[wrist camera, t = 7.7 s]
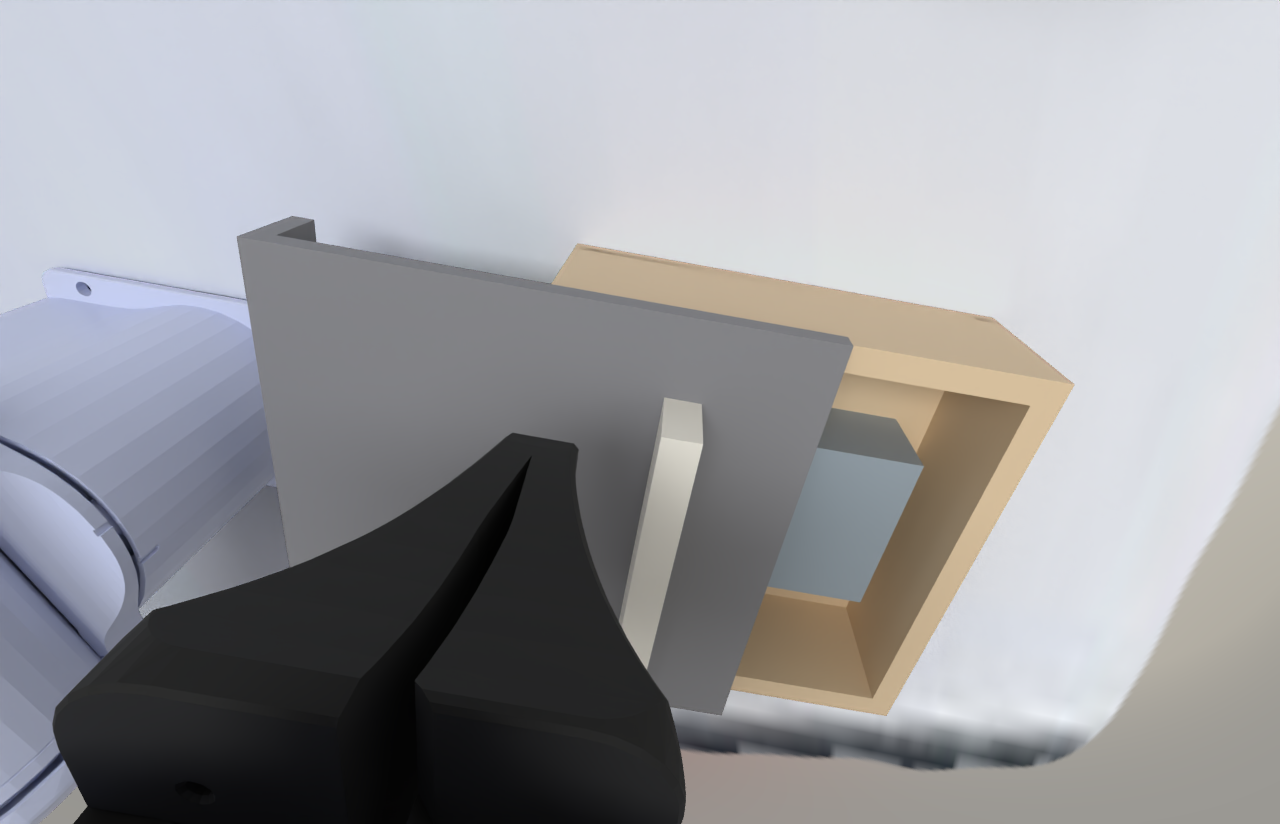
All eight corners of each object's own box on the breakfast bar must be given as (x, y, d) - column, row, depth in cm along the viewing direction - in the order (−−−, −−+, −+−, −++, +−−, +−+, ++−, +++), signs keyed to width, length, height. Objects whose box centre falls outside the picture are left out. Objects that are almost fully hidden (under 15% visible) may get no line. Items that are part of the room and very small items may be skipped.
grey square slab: (335, 595, 24) (268, 694, 20) (292, 216, 17) (176, 258, 13) (718, 659, 24) (724, 770, 21) (833, 312, 17) (874, 382, 13)
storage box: (542, 559, 27) (514, 653, 23) (577, 243, 20) (546, 290, 16) (855, 613, 27) (886, 715, 23) (992, 317, 21) (1074, 384, 16)
